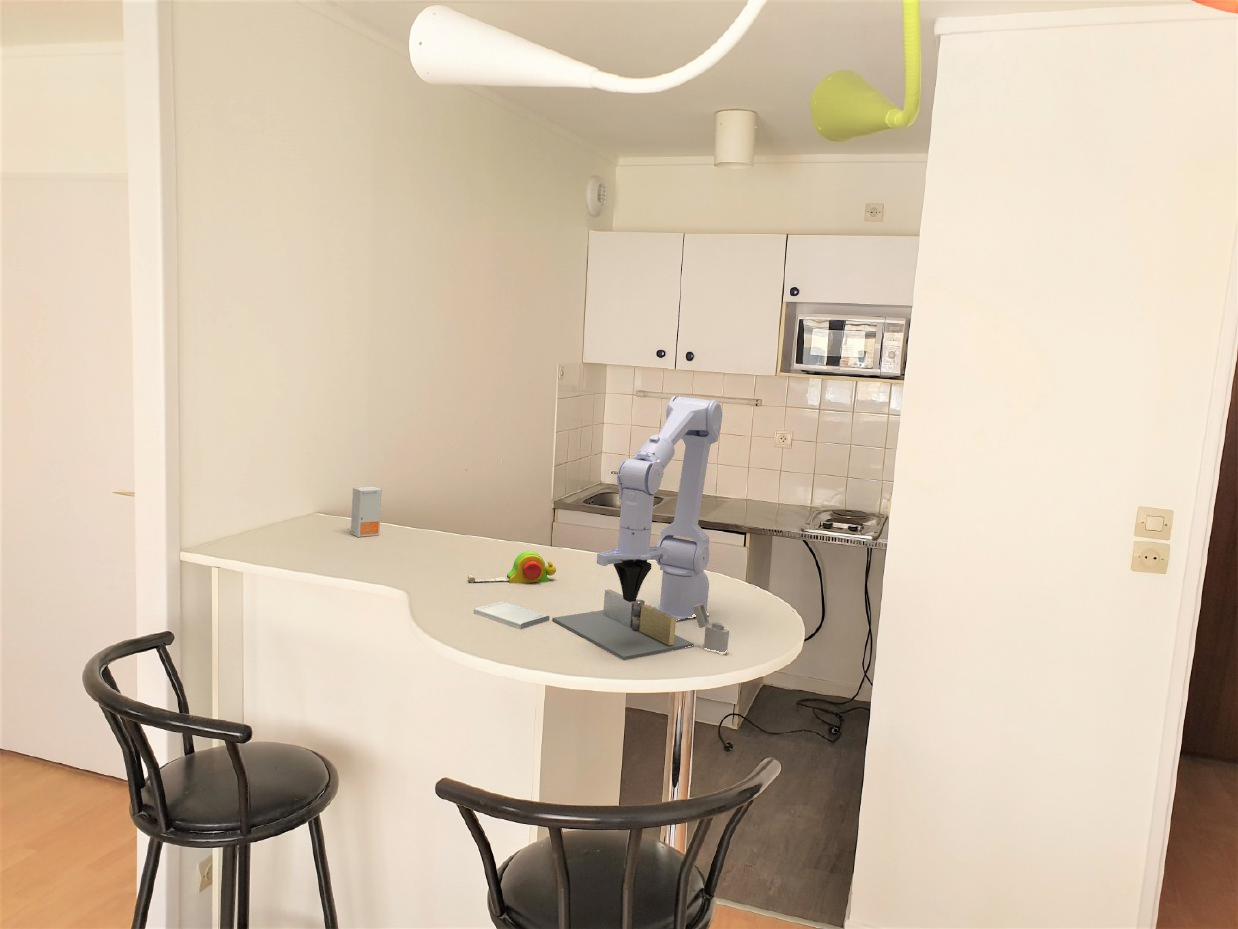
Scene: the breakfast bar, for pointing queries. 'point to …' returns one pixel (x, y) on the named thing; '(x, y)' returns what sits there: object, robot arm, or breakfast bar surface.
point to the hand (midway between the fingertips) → (629, 600)
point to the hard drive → (511, 615)
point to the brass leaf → (655, 622)
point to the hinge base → (617, 629)
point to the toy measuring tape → (525, 570)
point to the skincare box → (366, 511)
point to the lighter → (711, 630)
